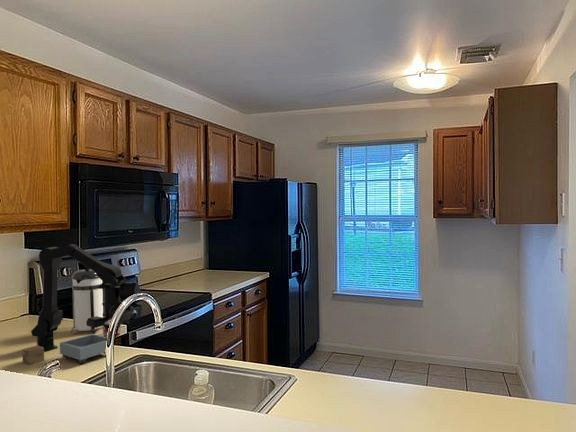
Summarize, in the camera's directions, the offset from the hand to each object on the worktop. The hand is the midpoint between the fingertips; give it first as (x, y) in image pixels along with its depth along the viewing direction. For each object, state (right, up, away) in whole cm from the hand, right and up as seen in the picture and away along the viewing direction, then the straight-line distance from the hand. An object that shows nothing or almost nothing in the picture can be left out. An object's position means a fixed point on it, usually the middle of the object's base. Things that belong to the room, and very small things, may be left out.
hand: (113, 339), depth 173 cm
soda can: (-7, -4, +17) cm, 19 cm away
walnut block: (-24, -4, -13) cm, 27 cm away
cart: (-6, -4, -9) cm, 12 cm away
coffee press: (-22, -4, +28) cm, 35 cm away
